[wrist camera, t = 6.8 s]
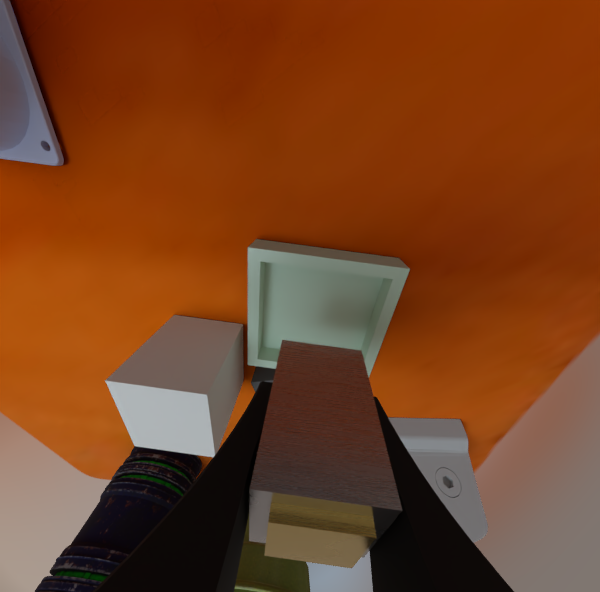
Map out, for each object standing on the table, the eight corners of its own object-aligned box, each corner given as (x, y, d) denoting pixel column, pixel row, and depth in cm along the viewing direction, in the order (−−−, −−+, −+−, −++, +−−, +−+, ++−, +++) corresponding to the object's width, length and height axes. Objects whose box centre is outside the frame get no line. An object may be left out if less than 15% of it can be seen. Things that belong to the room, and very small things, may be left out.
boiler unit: (171, 314, 19) (100, 379, 13) (243, 324, 19) (207, 394, 13) (184, 380, 23) (135, 454, 17) (243, 388, 23) (216, 466, 17)
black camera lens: (118, 440, 30) (-40, 648, 17) (183, 437, 28) (67, 663, 15) (155, 477, 34) (53, 663, 21) (213, 475, 33) (142, 676, 19)
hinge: (464, 419, 23) (527, 572, 16) (446, 429, 26) (491, 558, 20) (303, 415, 24) (299, 553, 18) (306, 425, 28) (304, 543, 21)
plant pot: (329, 455, 28) (336, 609, 18) (301, 493, 33) (294, 627, 23) (238, 432, 27) (192, 582, 17) (225, 476, 32) (184, 607, 22)
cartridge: (282, 339, 11) (244, 509, 5) (361, 350, 11) (408, 532, 5) (277, 392, 13) (245, 558, 7) (344, 401, 13) (365, 576, 7)
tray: (256, 239, 15) (247, 247, 13) (398, 258, 15) (410, 269, 13) (254, 347, 20) (247, 365, 18) (362, 362, 20) (367, 381, 18)
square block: (257, 361, 21) (251, 382, 19) (308, 355, 20) (307, 376, 18) (272, 395, 24) (267, 417, 21) (318, 390, 23) (318, 413, 21)
